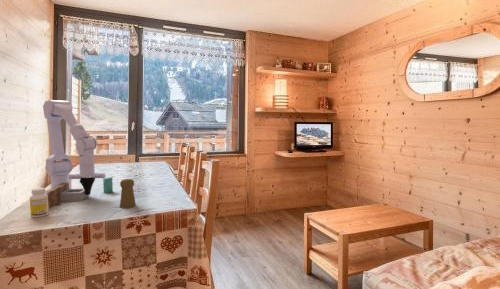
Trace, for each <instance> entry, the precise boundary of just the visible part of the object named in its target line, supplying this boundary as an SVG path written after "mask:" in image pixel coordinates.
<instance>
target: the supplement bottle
mask: <svg viewBox="0 0 500 289" xmlns="http://www.w3.org/2000/svg"><path fill="white" fill-rule="evenodd" d="M45 191H46V188H45V187H35V188H32V189H31V194H32V195H30V196H29V205H30V206H29V208H30V216H31V217H32V218H40V217H45V216H48V215H49V213H50V208H49V205H48V195H47V194H45Z"/></svg>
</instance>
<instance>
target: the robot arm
mask: <svg viewBox="0 0 500 289" xmlns="http://www.w3.org/2000/svg"><path fill="white" fill-rule="evenodd" d="M42 109H43V115H44V118H45V119H46V123H47V132H48V138H49V139H48V140H49V145H50V146H49V147H50V153H51V155H50V156H48V157H47V158H45V167H44V168H45V169H44V170H45V172H46V173H47V175H48V176H50V189H51V188H53V187H55V186H57V185H59V184H61V183H69V189H73V187H72V180H79V183H80V184H81V186H82V187H83V188H82V189H84V190H85V193H86V195H88V196H89V195H91V192H92V187H93V185H94V183H95V182H96V179H103V178H106V177H107V176H106V172H105V173H101V172H99V173H98V172H95V151H94V150H95V149H96V148H97V145H98V144H97V141H96V138H95V137H93V136H91V135H89V134H88V132H87V131H86V129H85V127H84V126H83V125H82V124H79V123H78V121H77V119H76V117H75V114H74V113H73V105H72V103H71V101H69V100H56V99H55V100H54V99H46V100H45V101H44V103H43V105H42ZM62 120H64V121H65V122H66V124H67V125H68V126H69V128H70V129H69V133H70V134H71V136H72V137H73V139H74V141H75V142H76V143H75V149H76V150H77V154H78V157H79V158H78V159H79V161H78V162H79V173H75V174H74V173H73V174H71V172H72V170H73V169H74V168H73V162H72V160H71V157H70V156H69V155H67V154H66V153H65V147H64V141H63V140H64V139H63V133H62V125H61V121H62Z"/></svg>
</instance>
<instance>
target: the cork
mask: <svg viewBox="0 0 500 289" xmlns="http://www.w3.org/2000/svg"><path fill="white" fill-rule="evenodd" d="M134 185H135V181H134V180H133V179H132V178H124V179H121V180H120V183H119V186H120V187H121V190H120V192H121V193H120V201H119V208H121V209H131V207H132V208H135V207H136V206H137V204H136V198H135V192H134ZM134 206H135V207H134Z"/></svg>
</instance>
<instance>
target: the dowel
mask: <svg viewBox="0 0 500 289" xmlns="http://www.w3.org/2000/svg"><path fill="white" fill-rule="evenodd" d="M102 183H103V184H102V185H103V186H102V187H103V194H112V193H113V192H114V189H113V187H114V186H113V185H114V184H113V177H112V176H111V177H110V176H109V177H107V176H106V177H105V178H102Z"/></svg>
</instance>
